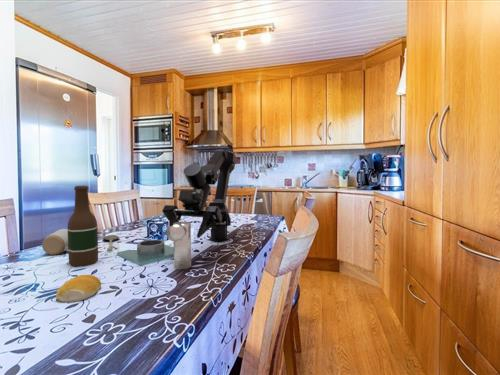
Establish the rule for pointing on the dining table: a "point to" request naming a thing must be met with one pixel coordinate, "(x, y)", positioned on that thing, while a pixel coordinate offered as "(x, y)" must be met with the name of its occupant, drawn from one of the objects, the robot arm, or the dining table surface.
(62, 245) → the beige cylinder
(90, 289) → the bread roll
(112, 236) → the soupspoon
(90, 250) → the beer bottle
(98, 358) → the dining table surface
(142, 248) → the duct collar
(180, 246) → the metal bottle
